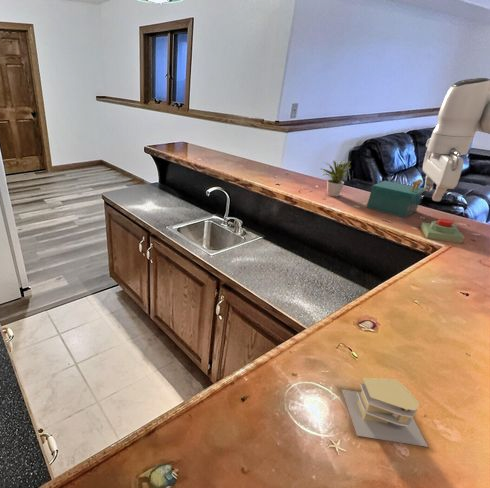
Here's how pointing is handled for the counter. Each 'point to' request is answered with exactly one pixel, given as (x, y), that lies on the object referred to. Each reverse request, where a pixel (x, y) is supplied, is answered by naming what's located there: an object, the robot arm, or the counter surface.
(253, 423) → the counter surface
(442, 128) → the robot arm
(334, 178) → the house plant
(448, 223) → the button
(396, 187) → the lid
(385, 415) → the stacked layers on plate
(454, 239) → the console
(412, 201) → the chest
